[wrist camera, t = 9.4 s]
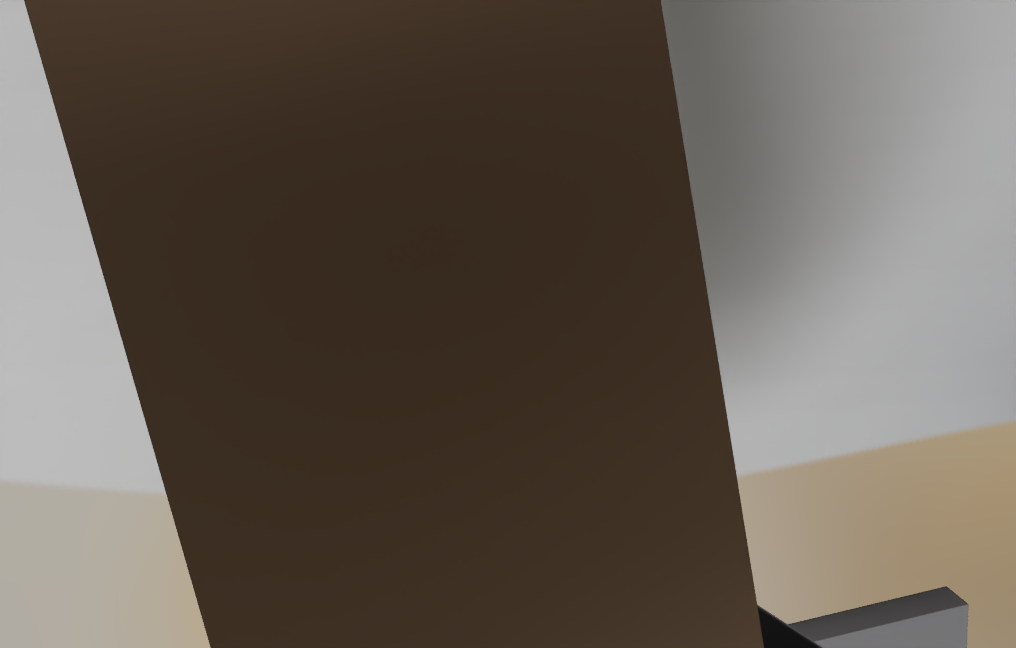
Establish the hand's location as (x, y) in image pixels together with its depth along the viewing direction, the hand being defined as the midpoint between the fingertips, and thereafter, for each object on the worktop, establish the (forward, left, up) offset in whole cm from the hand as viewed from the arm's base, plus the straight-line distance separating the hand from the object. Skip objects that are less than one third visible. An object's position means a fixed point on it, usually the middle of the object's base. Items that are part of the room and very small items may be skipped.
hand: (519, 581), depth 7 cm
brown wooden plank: (0, +3, -1) cm, 3 cm away
